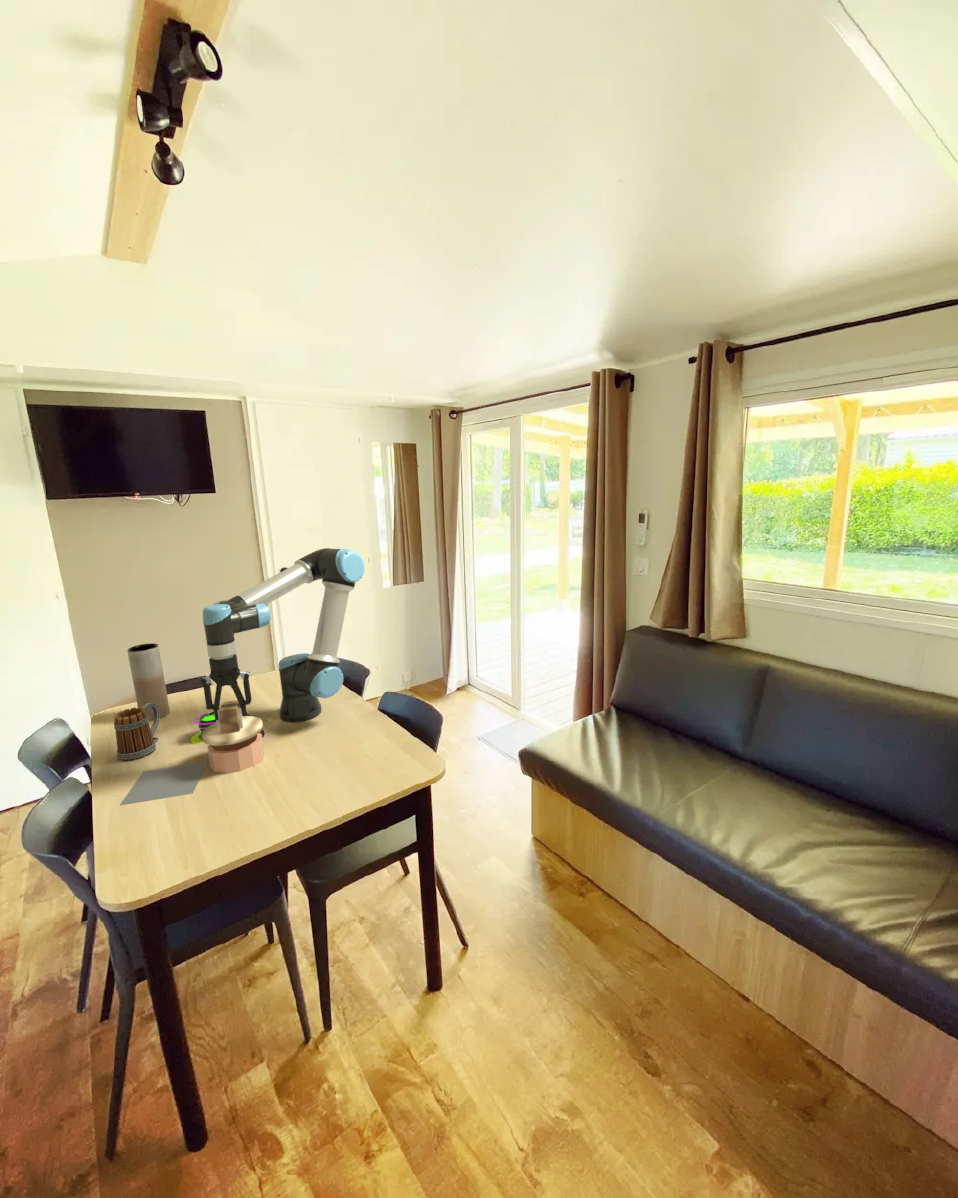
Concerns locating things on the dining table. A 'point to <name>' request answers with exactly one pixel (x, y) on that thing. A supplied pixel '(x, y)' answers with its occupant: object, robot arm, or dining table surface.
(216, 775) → the dining table surface
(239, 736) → the lid
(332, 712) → the dining table surface
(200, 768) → the mat
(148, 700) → the vase
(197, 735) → the toy cauldron
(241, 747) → the bowl
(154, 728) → the mug
